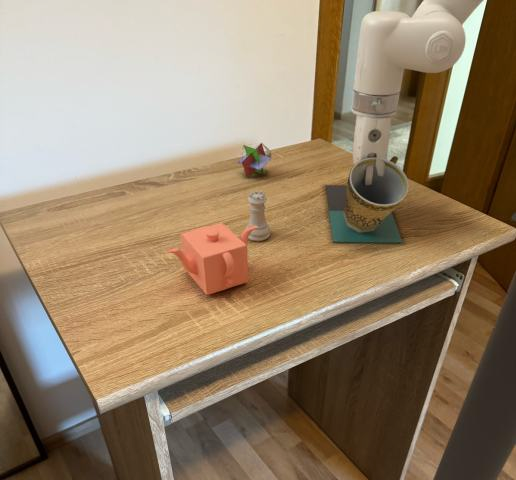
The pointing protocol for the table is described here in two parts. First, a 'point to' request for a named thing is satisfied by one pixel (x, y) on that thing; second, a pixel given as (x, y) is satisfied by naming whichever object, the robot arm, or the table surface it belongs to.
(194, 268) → the teapot
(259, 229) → the rook chess piece
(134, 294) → the table surface
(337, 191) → the plate
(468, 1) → the robot arm
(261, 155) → the geometric puzzle
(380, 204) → the ceramic cup
